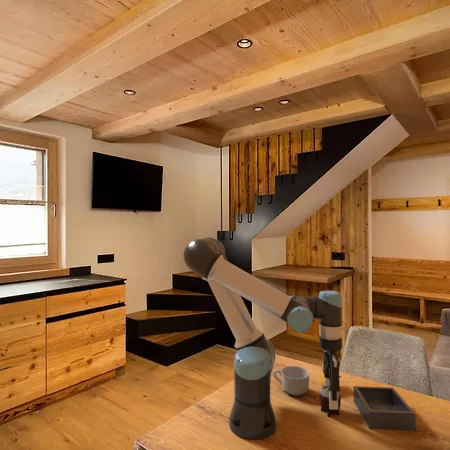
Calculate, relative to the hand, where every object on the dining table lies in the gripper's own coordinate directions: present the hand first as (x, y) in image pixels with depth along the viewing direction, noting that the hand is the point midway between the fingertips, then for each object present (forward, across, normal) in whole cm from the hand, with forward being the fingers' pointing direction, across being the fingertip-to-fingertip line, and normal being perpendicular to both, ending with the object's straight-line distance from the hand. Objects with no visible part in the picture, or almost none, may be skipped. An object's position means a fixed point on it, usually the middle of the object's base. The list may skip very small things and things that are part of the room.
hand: (331, 402), depth 116 cm
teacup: (+4, +14, +12) cm, 19 cm away
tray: (+3, 0, -17) cm, 17 cm away
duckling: (+4, +18, -3) cm, 19 cm away
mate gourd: (+4, 0, 0) cm, 4 cm away
